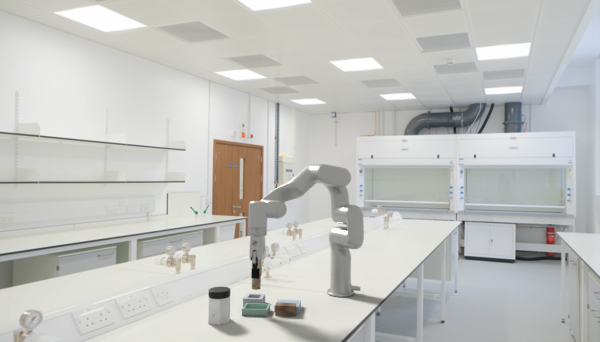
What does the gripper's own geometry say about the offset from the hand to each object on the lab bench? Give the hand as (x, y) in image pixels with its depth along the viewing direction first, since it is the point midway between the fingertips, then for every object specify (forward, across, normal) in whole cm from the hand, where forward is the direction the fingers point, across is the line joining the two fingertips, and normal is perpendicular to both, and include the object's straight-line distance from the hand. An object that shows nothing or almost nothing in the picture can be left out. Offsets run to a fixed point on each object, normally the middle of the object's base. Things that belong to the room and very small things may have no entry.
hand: (256, 276), depth 166 cm
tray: (+14, 0, 0) cm, 14 cm away
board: (+15, +6, -12) cm, 20 cm away
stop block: (+14, 0, -12) cm, 19 cm away
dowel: (+5, 0, 0) cm, 5 cm away
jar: (+15, -11, +12) cm, 22 cm away
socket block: (+14, +11, +3) cm, 18 cm away
